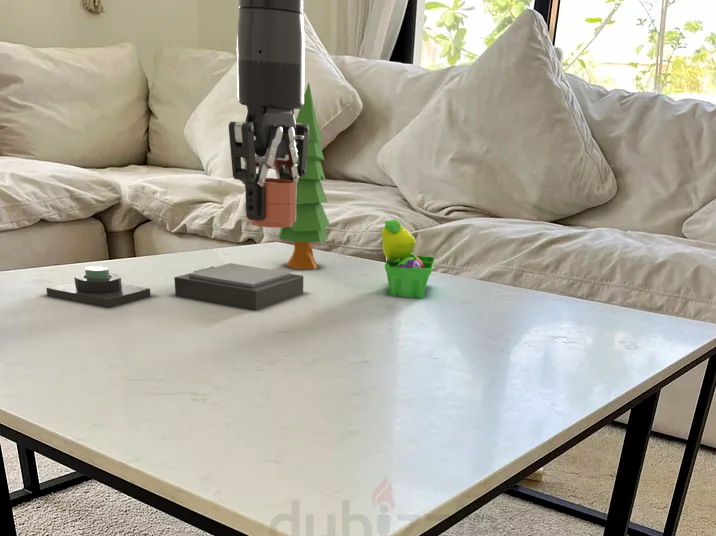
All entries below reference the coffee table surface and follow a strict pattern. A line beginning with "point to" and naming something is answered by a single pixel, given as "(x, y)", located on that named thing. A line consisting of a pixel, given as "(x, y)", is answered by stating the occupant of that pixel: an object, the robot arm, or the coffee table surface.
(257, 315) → the coffee table surface
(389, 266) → the fruit basket
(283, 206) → the terracotta cup
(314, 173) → the decorative tree
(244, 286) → the scale
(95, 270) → the button
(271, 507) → the coffee table surface
